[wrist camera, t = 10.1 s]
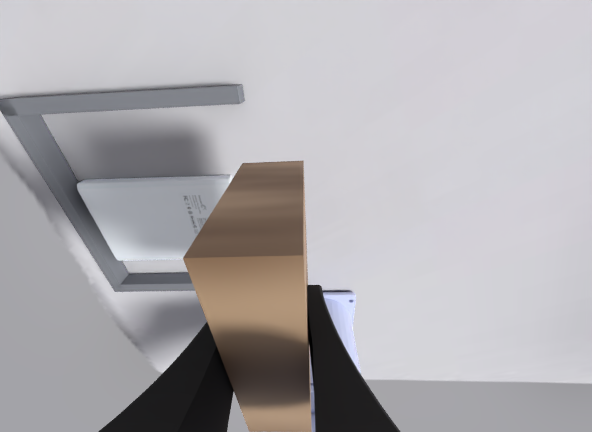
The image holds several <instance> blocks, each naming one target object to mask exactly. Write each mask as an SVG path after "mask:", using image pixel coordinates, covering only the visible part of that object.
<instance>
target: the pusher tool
mask: <svg viewBox="0 0 592 432" xmlns="http://www.w3.org/2000/svg"><path fill="white" fill-rule="evenodd" d="M183 260H184V262H185V265H186V267H187V270H188V273H189V275H190V278H191V280H192V283H193V286H194V288H195V291H196V294H197V296H198V299H199V301H200V304H201V307H202V309H203V312H204V314H205V317H206V320H207V322H208V325H209V327H210V330H211V333H212V335H213V338H214V340H215V343H216V346H217V348H218V351H219V353H220V356H221V359H222V361H223V364H224V366H225V369H226V372H227V374H228V377H229V379H230V382H231V385H232V387H233V390H234V392H235V395H236V397H237V400H238V403H239V405H240V408H241V411H242V413H243V416H244V418H245V421H246V424H247V426H248V429H249V431H250V432H253V431H254V432H312V428H311V384H310V348H309V335H308V310H307V285H308V274H307V247H306V220H305V193H304V166H303V161H287V162H263V163H243V164H242V165H241V167H240V168H239V170H238V171H237V173H236V175H235V176H234V178H233V179H232V181H231V183H230V184H229V186H228V187H227V189H226V191H225V192H224V194H223V195H222V197H221V198H220V200H219V202H218V203H217V205H216V206H215V208H214V210H213V211H212V213H211V214H210V216H209V217H208V219H207V221H206V222H205V224H204V225H203V227H202V229H201V230H200V232H199V233H198V235H197V237H196V238H195V240H194V241H193V243H192V244H191V246H190V248H189V249H188V251H187V252H186V254H185V256H184V257H183Z"/></svg>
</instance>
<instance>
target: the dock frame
mask: <svg viewBox="0 0 592 432" xmlns="http://www.w3.org/2000/svg"><path fill="white" fill-rule="evenodd" d="M244 101H245V100H244V93H243V86H242V85H226V86H209V87H191V88H173V89H156V90H138V91H121V92H103V93H86V94H68V95H51V96H33V97H16V98H7V99H0V110H1V112H2V114H3V115H4V117H5V118H6V120H7V121H8V123H9V125H10V126H11V128H12V129H13V131H14V133H15V134H16V136H17V137H18V139H19V140H20V142H21V144H22V145H23V147H24V148H25V150H26V152H27V153H28V155H29V156H30V158H31V159H32V161H33V163H34V164H35V166H36V167H37V169H38V171H39V172H40V174H41V175H42V177H43V178H44V180H45V182H46V183H47V185H48V186H49V188H50V190H51V191H52V193H53V194H54V196H55V197H56V199H57V201H58V202H59V204H60V205H61V207H62V209H63V210H64V212H65V213H66V215H67V217H68V218H69V220H70V221H71V223H72V224H73V226H74V228H75V229H76V231H77V232H78V234H79V236H80V237H81V239H82V240H83V242H84V243H85V245H86V247H87V248H88V250H89V251H90V253H91V255H92V256H93V258H94V259H95V261H96V262H97V264H98V266H99V267H100V269H101V270H102V272H103V274H104V275H105V277H106V278H107V280H108V281H109V283H110V285H111V286H112V288H113V289H114V291H115V292H132V291H195V288H194V286H193V283H192V280H191V278H190V275H189V273H155V274H129V273H128V271H127V269H126V267H125V265H124V264H123V262H122V261H119V260H117V259H116V258H115V256H114V255H113V253H112V251H111V249H110V247H109V246H108V244H107V242H106V240H105V239H104V237H103V235H102V233H101V231H100V229H99V228H98V226H97V224H96V222H95V220H94V219H93V217H92V215H91V213H90V212H89V210H88V208H87V206H86V204H85V203H84V201H83V199H82V197H81V195H80V194H79V192H78V189H77V183H78V181H77V179H76V177H75V176H74V174H73V172H72V170H71V168H70V167H69V165H68V163H67V161H66V159H65V158H64V156H63V154H62V152H61V150H60V149H59V147H58V145H57V143H56V141H55V140H54V138H53V136H52V134H51V133H50V131H49V129H48V127H47V125H46V124H45V122H44V120H43V118H42V116H41V115H40V114H56V113H75V112H94V111H113V110H132V109H150V108H169V107H188V106H207V105H226V104H240V103H242V102H244Z"/></svg>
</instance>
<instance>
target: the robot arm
mask: <svg viewBox="0 0 592 432" xmlns="http://www.w3.org/2000/svg"><path fill="white" fill-rule="evenodd" d="M351 299H352V300H351ZM355 303H356V295H355V293H353V292H322V287H321V286H320V285H307V310H308V335H309V348H310V384H311V428H312V432H400V431H399V429H398V428H397V427H396V425H395V424H394V423H393V421H392V420H391V419H390V417H389V416H388V414H387V413H386V412H385V410H384V409H383V408H382V406H381V405H380V403H379V402H378V400H377V399H376V397H375V396H374V394H373V393H372V391H371V390H370V388H369V387H368V385H367V384H366V382H365V381H364V379H363V377H362V376H361V370H360V365H359V360H358V354H357V349H356V344H355V338H354V333H353V320H354V312H355ZM233 392H234V390H233V387H232V385H231V382H230V379H229V377H228V374H227V372H226V369H225V366H224V364H223V361H222V359H221V356H220V353H219V351H218V348H217V346H216V343H215V340H214V338H213V335H212V333H211V330H210V327H209V325H208V322H206V324H205V325H204V326H203V328H202V329H201V330H200V332H199V333H198V334H197V335H196V337H195V338H194V339H193V340H192V342H191V343H190V344H189V345H188V346H187V348H186V349H185V350H184V351H183V352H182V353H181V354H180V356H179V357H178V358H177V359H176V360H175V361H174V362H173V363H172V364H171V365H170V367H169V368H168V369H167V370H166V371H165V372H164V373H163V374H162V375H161V376H160V377H159V378H158V379H157V380H156V381H155V382H154V383H153V384H152V385H151V386H150V387H149V388H148V389H147V390H146V391H145V392H143V393H142V394H141V395H140V396H139V397H138V398H137V399H136V400H135V401H133V402H132V403H131V404H130V405H129V406H128V407H127V408H126V409H125V410H124V411H123V412H121V414H119V415H118V416H117V417H116V418H114V419H113V420H112V421H111V422H110V423H108V424H107V425H106V426H105V427H104V428H102V429H101V430H100V431H99V432H227V427H228V420H229V414H230V409H231V403H232V397H233Z"/></svg>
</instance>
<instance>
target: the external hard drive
mask: <svg viewBox="0 0 592 432" xmlns="http://www.w3.org/2000/svg"><path fill="white" fill-rule="evenodd" d="M231 181H232V176H231V175H216V176H184V177H152V178H117V179H85V180H83V181H81V182H79V183H77V189H78V192H79V194H80V195H81V197H82V199H83V201H84V203H85V204H86V206H87V208H88V210H89V212H90V213H91V215H92V217H93V219H94V220H95V222H96V224H97V226H98V228H99V229H100V231H101V233H102V235H103V237H104V239H105V240H106V242H107V244H108V246H109V247H110V249H111V251H112V253H113V255H114V256H115V258H116V259H117V260H119V261H132V260H176V259H183V257H184V256H185V254H186V252H187V251H188V249H189V248H190V246H191V244H192V243H193V241H194V240H195V238H196V237H197V235H198V233H199V232H200V230H201V229H202V227H203V225H204V224H205V222H206V221H207V219H208V217H209V216H210V214H211V213H212V211H213V210H214V208H215V206H216V205H217V203H218V202H219V200H220V198H221V197H222V195H223V194H224V192H225V191H226V189H227V187H228V186H229V184H230V183H231Z"/></svg>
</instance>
